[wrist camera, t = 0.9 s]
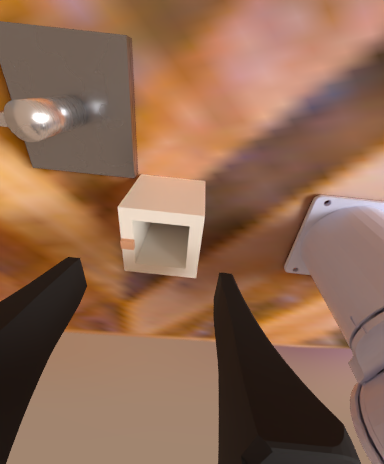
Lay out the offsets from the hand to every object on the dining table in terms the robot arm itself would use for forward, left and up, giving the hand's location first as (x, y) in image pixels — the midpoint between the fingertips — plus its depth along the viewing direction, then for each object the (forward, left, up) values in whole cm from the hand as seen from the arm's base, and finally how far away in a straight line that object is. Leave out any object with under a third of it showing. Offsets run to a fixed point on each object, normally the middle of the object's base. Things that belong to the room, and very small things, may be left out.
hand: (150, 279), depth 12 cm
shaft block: (+6, -6, -8) cm, 12 cm away
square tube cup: (0, 0, -8) cm, 8 cm away
